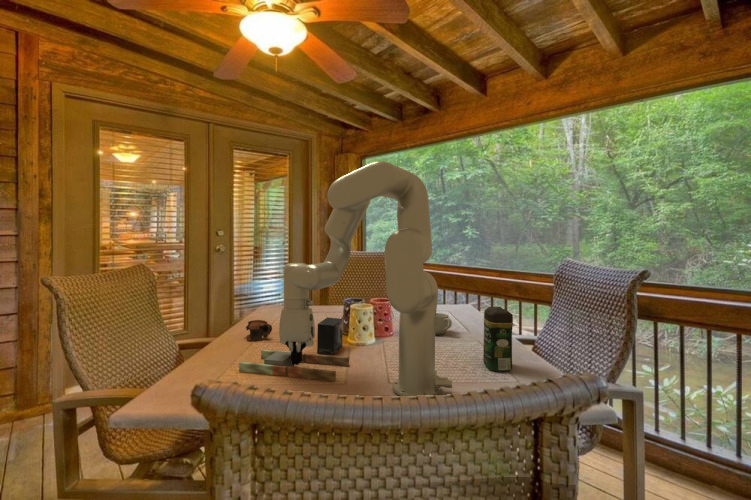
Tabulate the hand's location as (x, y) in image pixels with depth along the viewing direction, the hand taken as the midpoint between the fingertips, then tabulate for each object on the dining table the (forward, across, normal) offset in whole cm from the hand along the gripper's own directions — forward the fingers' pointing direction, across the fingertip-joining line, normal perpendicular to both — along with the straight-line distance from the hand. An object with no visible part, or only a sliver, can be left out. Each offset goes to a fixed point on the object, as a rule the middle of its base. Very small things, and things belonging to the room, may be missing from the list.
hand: (296, 363), depth 115 cm
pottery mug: (+2, +29, -26) cm, 39 cm away
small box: (+2, -4, -20) cm, 20 cm away
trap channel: (+2, 0, 0) cm, 2 cm away
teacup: (+2, -38, -50) cm, 64 cm away
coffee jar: (+2, -60, -17) cm, 62 cm away
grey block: (+2, +5, +1) cm, 5 cm away
